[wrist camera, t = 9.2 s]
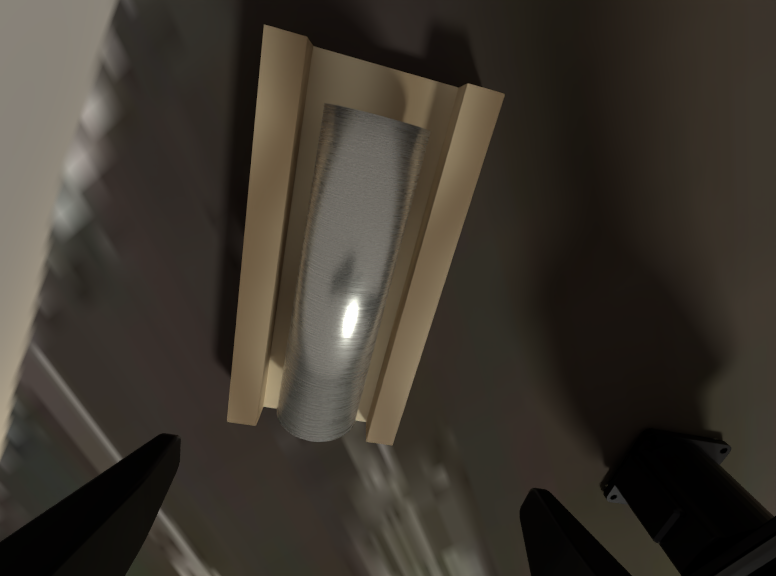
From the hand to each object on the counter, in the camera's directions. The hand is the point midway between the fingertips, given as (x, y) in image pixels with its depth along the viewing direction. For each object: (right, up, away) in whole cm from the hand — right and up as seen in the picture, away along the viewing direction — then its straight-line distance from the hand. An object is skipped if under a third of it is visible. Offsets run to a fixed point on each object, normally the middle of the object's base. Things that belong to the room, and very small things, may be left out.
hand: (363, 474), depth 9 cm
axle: (-1, +6, +9) cm, 10 cm away
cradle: (-2, +6, +10) cm, 11 cm away
